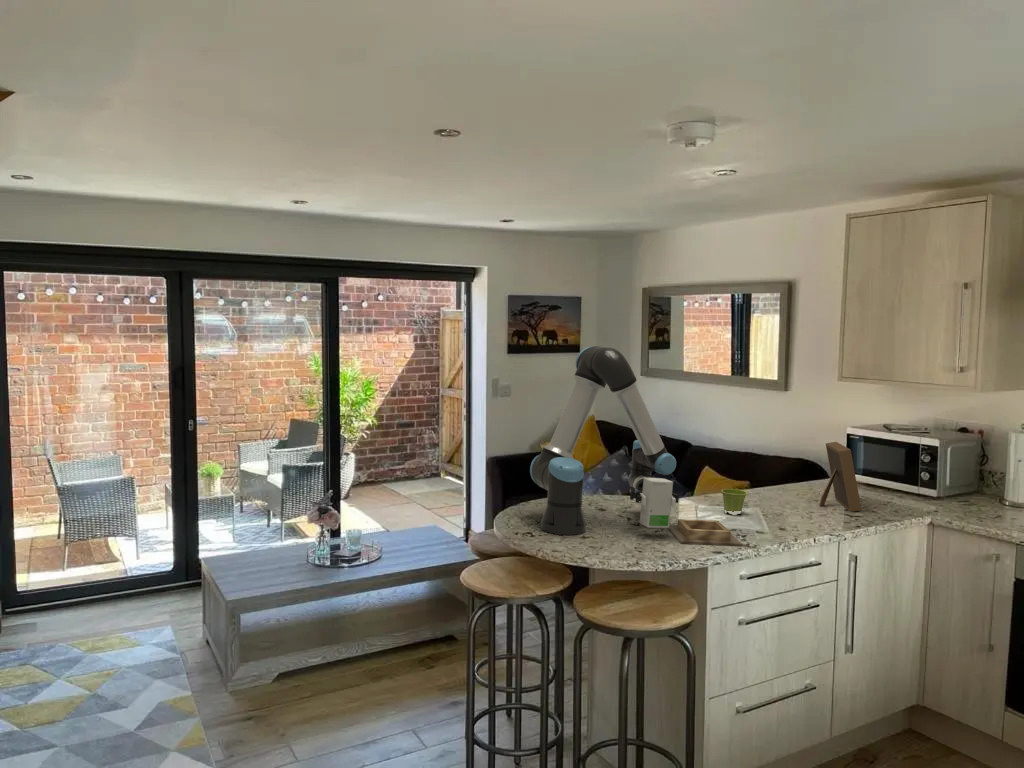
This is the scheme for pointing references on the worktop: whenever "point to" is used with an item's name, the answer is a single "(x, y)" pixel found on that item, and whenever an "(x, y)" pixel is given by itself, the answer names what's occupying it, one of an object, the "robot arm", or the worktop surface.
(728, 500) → the plant pot
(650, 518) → the skincare box
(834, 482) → the photo frame
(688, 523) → the socket board
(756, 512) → the worktop surface
